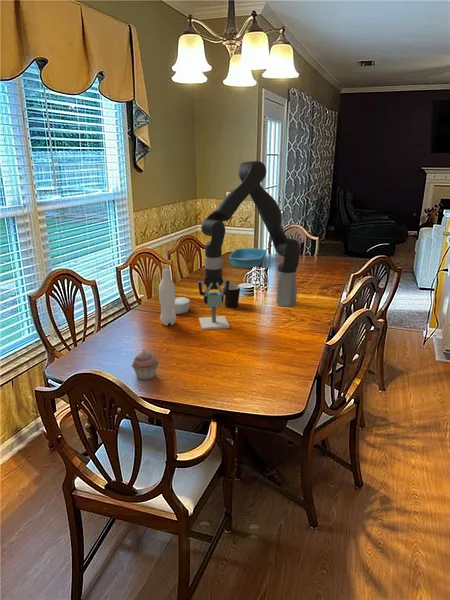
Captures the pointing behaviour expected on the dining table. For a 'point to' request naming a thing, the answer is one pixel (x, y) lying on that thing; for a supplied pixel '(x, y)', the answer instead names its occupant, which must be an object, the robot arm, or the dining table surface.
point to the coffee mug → (232, 296)
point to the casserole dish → (247, 257)
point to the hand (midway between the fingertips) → (213, 303)
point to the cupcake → (145, 365)
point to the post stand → (213, 321)
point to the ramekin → (181, 305)
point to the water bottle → (167, 299)
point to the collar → (214, 299)
